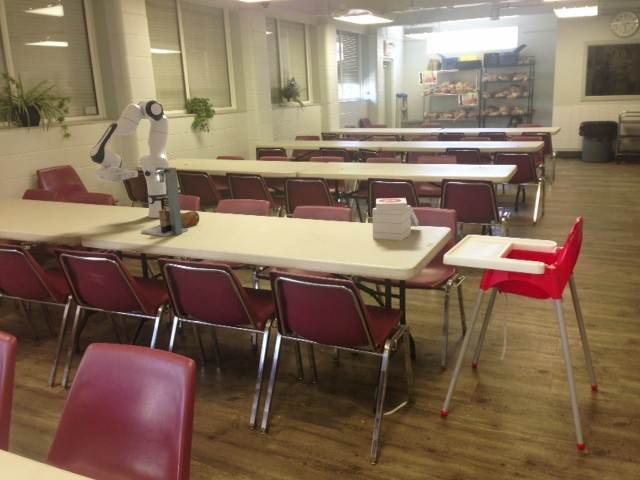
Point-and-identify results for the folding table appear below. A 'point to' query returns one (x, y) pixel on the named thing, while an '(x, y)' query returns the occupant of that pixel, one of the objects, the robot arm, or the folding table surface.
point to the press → (173, 203)
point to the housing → (164, 217)
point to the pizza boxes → (393, 219)
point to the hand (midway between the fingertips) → (128, 176)
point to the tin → (189, 218)
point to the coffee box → (164, 202)
